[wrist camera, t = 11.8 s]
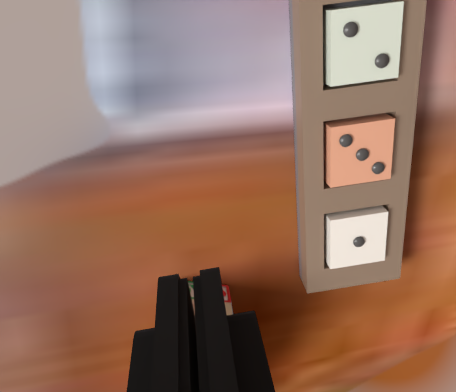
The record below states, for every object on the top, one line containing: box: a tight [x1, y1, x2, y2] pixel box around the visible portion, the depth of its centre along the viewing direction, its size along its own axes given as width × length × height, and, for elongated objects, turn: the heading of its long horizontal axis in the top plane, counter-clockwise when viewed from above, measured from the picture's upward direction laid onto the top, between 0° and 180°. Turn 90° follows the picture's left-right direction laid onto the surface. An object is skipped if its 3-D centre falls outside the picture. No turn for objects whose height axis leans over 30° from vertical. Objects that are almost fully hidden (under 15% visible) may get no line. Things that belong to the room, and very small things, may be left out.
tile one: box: [324, 205, 388, 269], centre depth 41 cm, size 6×6×3 cm
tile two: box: [323, 1, 404, 87], centre depth 33 cm, size 6×6×3 cm
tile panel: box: [289, 0, 427, 294], centre depth 38 cm, size 30×10×3 cm, turn 6°
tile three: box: [323, 113, 395, 188], centre depth 37 cm, size 6×6×3 cm
